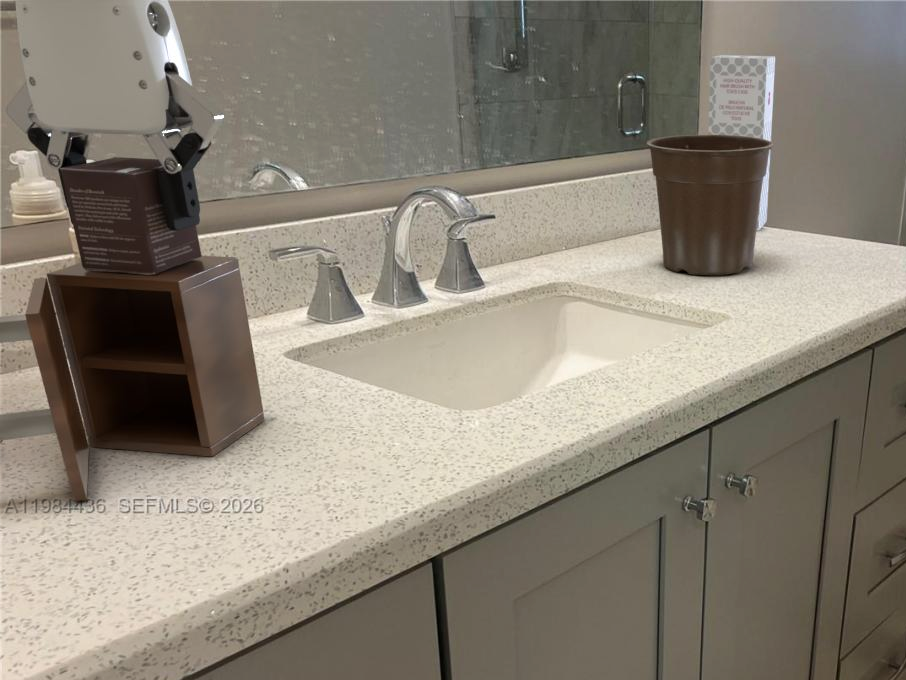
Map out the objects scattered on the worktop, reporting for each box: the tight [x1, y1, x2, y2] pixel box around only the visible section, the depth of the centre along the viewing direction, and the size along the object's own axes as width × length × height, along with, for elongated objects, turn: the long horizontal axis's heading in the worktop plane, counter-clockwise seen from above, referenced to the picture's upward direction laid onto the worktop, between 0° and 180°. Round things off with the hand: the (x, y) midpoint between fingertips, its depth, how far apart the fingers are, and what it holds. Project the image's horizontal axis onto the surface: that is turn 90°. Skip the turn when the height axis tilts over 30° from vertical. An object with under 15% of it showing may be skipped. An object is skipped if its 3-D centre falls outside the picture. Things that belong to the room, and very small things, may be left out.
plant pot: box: [646, 134, 774, 277], centre depth 137 cm, size 16×16×16 cm
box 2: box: [707, 54, 776, 232], centre depth 163 cm, size 8×8×25 cm
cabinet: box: [46, 255, 265, 457], centre depth 81 cm, size 8×10×14 cm
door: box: [0, 277, 90, 502], centre depth 72 cm, size 7×10×13 cm
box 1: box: [60, 156, 203, 275], centre depth 77 cm, size 6×6×7 cm
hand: (136, 223), depth 77 cm, fingers open, 7 cm apart
